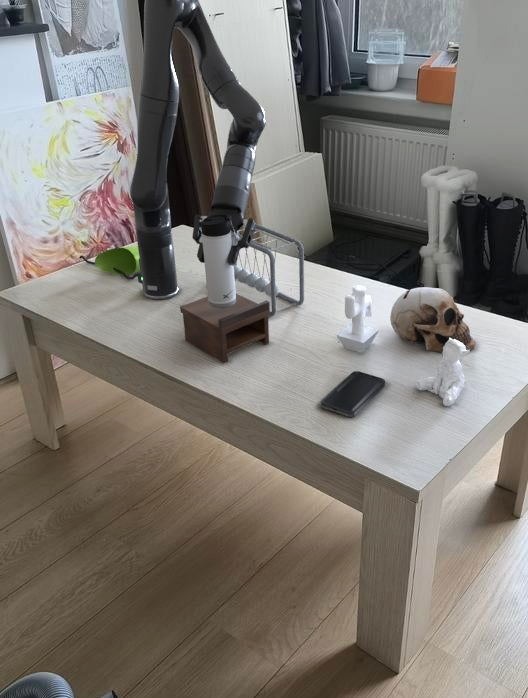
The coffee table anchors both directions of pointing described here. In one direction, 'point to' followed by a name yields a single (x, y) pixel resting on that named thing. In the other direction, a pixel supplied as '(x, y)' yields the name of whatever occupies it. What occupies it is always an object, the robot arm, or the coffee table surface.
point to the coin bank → (429, 319)
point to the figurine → (357, 321)
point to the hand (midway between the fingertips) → (215, 262)
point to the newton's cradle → (262, 283)
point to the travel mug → (218, 261)
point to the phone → (353, 393)
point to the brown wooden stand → (225, 326)
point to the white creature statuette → (447, 373)
